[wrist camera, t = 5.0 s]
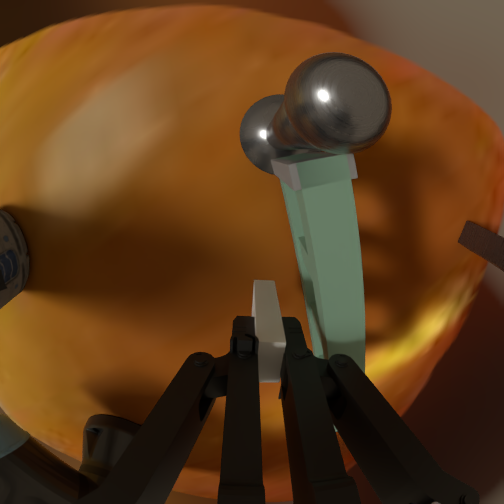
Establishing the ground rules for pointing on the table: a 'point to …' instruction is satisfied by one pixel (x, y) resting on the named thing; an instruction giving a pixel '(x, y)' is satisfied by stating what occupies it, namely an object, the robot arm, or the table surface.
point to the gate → (327, 249)
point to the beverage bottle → (12, 259)
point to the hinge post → (319, 111)
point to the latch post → (483, 243)
